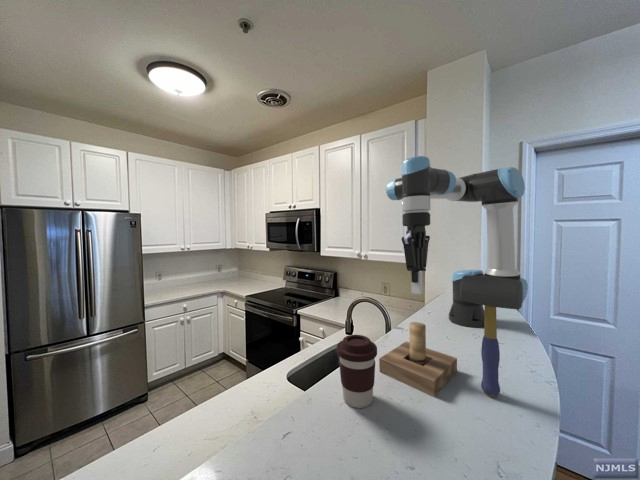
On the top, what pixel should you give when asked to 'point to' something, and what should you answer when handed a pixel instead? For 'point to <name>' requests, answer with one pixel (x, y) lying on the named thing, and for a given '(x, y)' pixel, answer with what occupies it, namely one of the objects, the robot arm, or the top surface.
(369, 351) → the coffee cup
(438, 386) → the walnut socket block
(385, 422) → the top surface
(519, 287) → the rubber mallet
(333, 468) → the top surface
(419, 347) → the oak peg
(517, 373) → the top surface
